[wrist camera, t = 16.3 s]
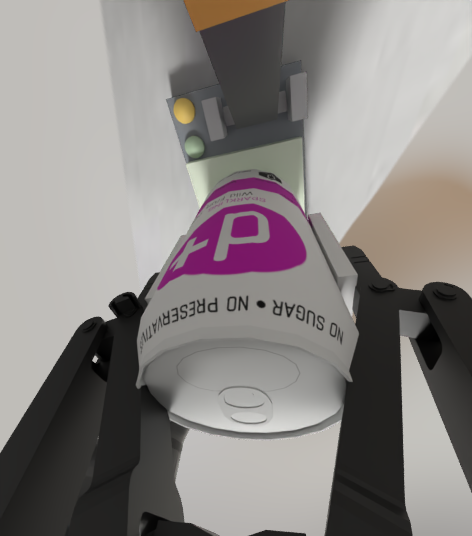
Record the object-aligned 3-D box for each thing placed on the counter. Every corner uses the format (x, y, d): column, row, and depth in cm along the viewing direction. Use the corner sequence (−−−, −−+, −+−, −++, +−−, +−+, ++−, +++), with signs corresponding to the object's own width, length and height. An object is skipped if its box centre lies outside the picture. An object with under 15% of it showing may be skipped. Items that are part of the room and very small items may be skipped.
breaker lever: (229, 135, 17) (159, -4, 6) (224, 104, 17) (141, -102, 6) (286, 121, 16) (317, -65, 6) (283, 88, 16) (309, -184, 5)
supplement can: (193, 175, 18) (57, 328, 5) (300, 159, 16) (426, 311, 4) (214, 259, 22) (166, 441, 10) (298, 252, 21) (356, 448, 9)
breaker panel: (216, 245, 26) (211, 265, 23) (172, 99, 18) (153, 98, 15) (304, 232, 24) (311, 252, 21) (297, 63, 16) (308, 53, 13)
